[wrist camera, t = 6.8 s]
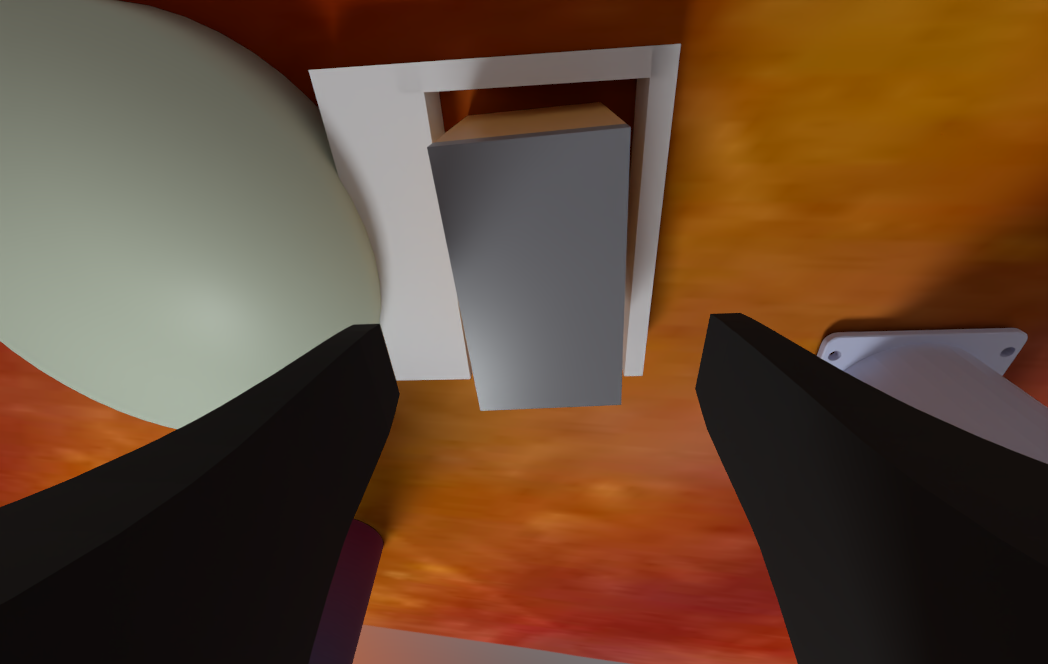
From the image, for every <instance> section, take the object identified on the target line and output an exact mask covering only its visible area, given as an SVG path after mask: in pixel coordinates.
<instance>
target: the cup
mask: <svg viewBox="0 0 1048 664" xmlns="http://www.w3.org/2000/svg"><path fill="white" fill-rule="evenodd" d="M382 549H383V540H382V538H381V536H380V535H379V533H378V532H377V531H376V530H374V529H373V528H372V527H370V526H369V525H367V524H365V523H363V522H360V521H358V520H355V519H353V520H352V523H351V525H350V528H349V531H348V533H347V536H346V539H345V541H344V544H343V547H342V550H341V553H340V557H339V560H338V563H337V566H336V569H335V573H334V576H333V579H332V582H331V586H330V589H329V592H328V595H327V599H326V602H325V606H324V609H323V613H322V617H321V620H320V624H319V627H318V631H317V634H316V638H315V641H314V645H313V648H312V652H311V656H310V660H309V664H352V663H353V659H354V654H355V651H356V647H357V643H358V640H359V636H360V632H361V628H362V625H363V621H364V617H365V613H366V610H367V606H368V602H369V598H370V594H371V591H372V587H373V583H374V579H375V576H376V572H377V568H378V564H379V560H380V557H381V553H382Z"/></svg>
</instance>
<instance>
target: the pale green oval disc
mask: <svg viewBox="0 0 1048 664" xmlns="http://www.w3.org/2000/svg"><path fill="white" fill-rule="evenodd" d="M680 48H681V44H669V45H655V46H641V47H626V48H612V49H598V50H584V51H570V52H556V53H541V54H527V55H513V56H499V57H485V58H471V59H456V60H442V61H428V62H414V63H400V64H386V65H371V66H357V67H343V68H329V69H315V70H308V71H309V74H310V78H311V81H312V85H313V88H314V92H315V95H316V99H317V102H318V106H319V109H320V110H319V109H318V107H317V106H316V105H315V104H314V103H313V102H312V101H311V100H310V99H309V98H308V97H307V96H306V95H305V94H304V93H303V92H301V91H300V90H299V89H298V88H297V87H296V86H295V85H294V84H293V83H292V82H291V81H289V80H288V79H287V78H286V77H285V76H284V75H283V74H281V73H280V72H279V71H277V70H276V69H275V68H273V67H272V66H271V65H269V64H268V63H267V62H265V61H264V60H263V59H261V58H260V57H259V56H257V55H256V54H255V53H253V52H252V51H250V50H248V49H247V48H245V47H243V46H242V45H240V44H238V43H237V42H235V41H233V40H232V39H230V38H228V37H226V36H225V35H223V34H221V33H220V32H218V31H215V30H213V29H211V28H209V27H207V26H204V25H202V24H200V23H198V22H195V21H193V20H191V19H189V18H187V17H184V16H181V15H178V14H175V13H172V12H168V11H165V10H162V9H159V8H155V7H152V6H149V5H143V4H137V3H131V2H125V1H119V0H0V341H1V342H2V343H4V344H5V345H6V346H7V347H9V348H10V349H11V350H12V351H14V352H15V353H16V354H18V355H19V356H21V357H22V358H24V359H25V360H27V361H28V362H29V363H31V364H32V365H34V366H35V367H37V368H38V369H40V370H41V371H43V372H44V373H46V374H48V375H49V376H51V377H53V378H54V379H56V380H58V381H59V382H61V383H63V384H64V385H66V386H68V387H70V388H72V389H74V390H76V391H77V392H79V393H81V394H83V395H85V396H87V397H89V398H91V399H93V400H95V401H97V402H100V403H102V404H104V405H107V406H109V407H111V408H113V409H116V410H118V411H120V412H123V413H126V414H129V415H131V416H134V417H137V418H140V419H142V420H145V421H149V422H152V423H156V424H159V425H163V426H166V427H170V428H175V429H179V428H181V427H183V426H185V425H187V424H189V423H191V422H193V421H195V420H196V419H198V418H200V417H202V416H204V415H206V414H207V413H209V412H211V411H213V410H215V409H216V408H218V407H220V406H222V405H223V404H225V403H227V402H228V401H230V400H232V399H233V398H235V397H237V396H238V395H240V394H242V393H243V392H245V391H247V390H248V389H250V388H252V387H253V386H255V385H257V384H258V383H260V382H262V381H263V380H265V379H267V378H268V377H270V376H271V375H273V374H275V373H276V372H278V371H279V370H281V369H282V368H284V367H285V366H287V365H288V364H290V363H292V362H293V361H295V360H296V359H298V358H299V357H301V356H302V355H304V354H305V353H307V352H309V351H310V350H312V349H313V348H315V347H316V346H318V345H319V344H321V343H322V342H324V341H326V340H327V339H329V338H330V337H332V336H333V335H335V334H337V333H338V332H340V331H342V330H344V329H345V328H347V327H349V326H351V325H354V324H380V327H381V330H382V334H383V335H384V339H385V342H386V346H387V349H388V353H389V356H390V360H391V363H392V367H393V370H394V374H395V377H396V380H446V379H471V375H472V366H471V361H470V356H469V352H468V347H467V342H466V337H465V332H464V327H463V322H462V317H461V312H460V307H459V302H458V298H457V293H456V288H455V283H454V278H453V273H452V268H451V263H450V258H449V253H448V248H447V243H446V239H445V234H444V229H443V224H442V219H441V214H440V209H439V204H438V199H437V194H436V189H435V184H434V180H433V175H432V170H431V165H430V160H429V155H428V150H427V147H428V146H429V145H430V144H432V143H433V142H434V141H436V140H437V139H438V138H439V137H441V136H442V135H443V134H445V130H444V124H443V117H442V110H441V103H440V96H439V91H453V90H468V89H484V88H499V87H514V86H529V85H545V84H560V83H575V82H590V81H605V80H621V79H636V78H637V86H636V100H635V114H634V127H633V141H632V155H631V169H630V183H629V196H628V220H627V248H626V277H625V305H624V334H623V362H622V369H623V373H624V376H642V375H643V367H644V358H645V349H646V341H647V332H648V324H649V315H650V306H651V298H652V289H653V280H654V272H655V263H656V255H657V246H658V237H659V229H660V220H661V211H662V203H663V194H664V186H665V177H666V168H667V160H668V151H669V143H670V134H671V125H672V117H673V108H674V99H675V91H676V82H677V74H678V65H679V56H680Z"/></svg>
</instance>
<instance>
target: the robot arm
mask: <svg viewBox="0 0 1048 664" xmlns="http://www.w3.org/2000/svg"><path fill="white" fill-rule="evenodd" d="M1027 339H1028V336H1027V334H1026V333H1025V332H1023V331H1021V330H1020V329H1018V328H986V329H947V330H908V331H869V332H837V333H832V334H830V335H828V336H827V337H825V338H824V340H823V341H822V343H821V346H820V349H819V351H818V354H817V356H816V355H814V354H813V353H811V352H809V351H807V350H806V349H804V348H802V347H801V346H799V345H797V344H795V343H794V342H792V341H790V340H789V339H787V338H785V337H784V336H782V335H780V334H778V333H777V332H775V331H773V330H772V329H770V328H768V327H766V326H765V325H763V324H761V323H759V322H757V321H756V320H754V319H752V318H750V317H748V316H746V315H744V314H741V313H725V314H710V319H709V324H708V329H707V334H706V339H705V344H704V349H703V353H702V358H701V363H700V368H699V373H698V378H697V383H696V388H695V389H696V393H697V396H698V400H699V403H700V407H701V411H702V414H703V417H704V420H705V424H706V427H707V430H708V432H709V434H710V437H711V439H712V441H713V443H714V446H715V448H716V450H717V452H718V454H719V457H720V459H721V461H722V463H723V466H724V468H725V470H726V472H727V474H728V476H729V479H730V481H731V483H732V485H733V487H734V489H735V492H736V494H737V496H738V498H739V500H740V503H741V505H742V507H743V509H744V511H745V513H746V516H747V518H748V520H749V522H750V524H751V527H752V529H753V532H754V534H755V537H756V539H757V542H758V544H759V546H760V549H761V552H762V555H763V558H764V561H765V564H766V567H767V570H768V573H769V576H770V579H771V581H772V584H773V587H774V590H775V593H776V596H777V599H778V602H779V605H780V609H781V612H782V615H783V618H784V621H785V624H786V628H787V631H788V634H789V637H790V640H791V643H792V647H793V650H794V653H795V656H796V659H797V663H798V664H1048V408H1047V407H1046V406H1044V405H1043V404H1041V403H1040V402H1039V401H1037V400H1036V399H1034V398H1033V397H1031V396H1030V395H1029V394H1027V393H1026V392H1024V391H1023V390H1022V389H1020V388H1019V387H1017V386H1016V385H1014V384H1013V383H1012V382H1010V381H1009V380H1007V379H1006V378H1004V377H1003V374H1004V373H1005V371H1006V370H1007V369H1008V367H1009V366H1010V364H1011V363H1012V361H1013V360H1014V359H1015V357H1016V356H1017V354H1018V353H1019V351H1020V350H1021V349H1022V347H1023V346H1024V344H1025V343H1026V341H1027ZM834 351H835V352H834ZM832 352H834V353H833V354H832V355H829V354H830V353H832ZM399 394H400V393H399V390H398V386H397V383H396V379H395V376H394V372H393V369H392V365H391V362H390V358H389V355H388V351H387V348H386V344H385V341H384V337H383V334H382V330H381V327H380V324H354V325H351V326H349V327H347V328H345V329H344V330H342V331H340V332H338V333H337V334H335V335H333V336H332V337H330V338H329V339H327V340H326V341H324V342H322V343H321V344H319V345H318V346H316V347H315V348H313V349H312V350H310V351H309V352H307V353H305V354H304V355H302V356H301V357H299V358H298V359H296V360H295V361H293V362H292V363H290V364H288V365H287V366H285V367H284V368H282V369H281V370H279V371H278V372H276V373H275V374H273V375H271V376H270V377H268V378H267V379H265V380H263V381H262V382H260V383H258V384H257V385H255V386H253V387H252V388H250V389H248V390H247V391H245V392H243V393H242V394H240V395H238V396H237V397H235V398H233V399H232V400H230V401H228V402H227V403H225V404H223V405H222V406H220V407H218V408H216V409H215V410H213V411H211V412H209V413H207V414H206V415H204V416H202V417H200V418H198V419H196V420H195V421H193V422H191V423H189V424H187V425H185V426H183V427H181V428H179V429H177V430H175V431H173V432H171V433H169V434H167V435H165V436H163V437H162V438H160V439H158V440H155V441H153V442H151V443H149V444H147V445H145V446H143V447H141V448H139V449H136V450H134V451H132V452H130V453H128V454H125V455H123V456H121V457H119V458H116V459H114V460H112V461H110V462H108V463H105V464H103V465H101V466H99V467H97V468H94V469H92V470H90V471H88V472H85V473H83V474H81V475H79V476H77V477H74V478H72V479H70V480H67V481H65V482H62V483H60V484H58V485H55V486H53V487H50V488H48V489H45V490H43V491H40V492H38V493H35V494H33V495H30V496H28V497H26V498H23V499H21V500H18V501H15V502H13V503H10V504H8V505H5V506H2V507H0V664H309V660H310V656H311V652H312V648H313V645H314V641H315V638H316V634H317V631H318V627H319V624H320V620H321V617H322V613H323V609H324V606H325V602H326V599H327V595H328V592H329V589H330V586H331V582H332V579H333V576H334V573H335V569H336V566H337V563H338V560H339V557H340V553H341V550H342V547H343V544H344V541H345V539H346V536H347V533H348V531H349V528H350V525H351V523H352V520H353V518H354V516H355V513H356V511H357V509H358V506H359V504H360V502H361V499H362V497H363V495H364V492H365V490H366V488H367V485H368V483H369V481H370V478H371V476H372V474H373V471H374V469H375V466H376V464H377V462H378V459H379V457H380V455H381V452H382V450H383V447H384V445H385V442H386V440H387V437H388V435H389V432H390V429H391V425H392V422H393V418H394V415H395V411H396V407H397V403H398V398H399Z"/></svg>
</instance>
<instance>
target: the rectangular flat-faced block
mask: <svg viewBox="0 0 1048 664" xmlns="http://www.w3.org/2000/svg"><path fill="white" fill-rule="evenodd" d="M630 135H631V127H630V126H629V125H627V124H626V123H625V122H624V121H623V120H621V119H620V118H619V117H618V116H617V115H616V114H614V113H613V112H612V111H611V110H610V109H608V108H607V107H606V106H605V105H604V104H602V103H601V102H594V103H584V104H575V105H565V106H555V107H546V108H536V109H527V110H517V111H507V112H498V113H488V114H478V115H469V116H466V117H465V118H464V119H463V120H461V121H460V122H459V123H457V124H456V125H455V126H454V127H452V128H451V129H450V130H448V131H447V132H446V133H445V134H443V135H442V136H441V137H439V138H438V139H437V140H436V141H434V142H433V143H432V144H430V145H429V146H428V147H427V150H428V155H429V160H430V165H431V170H432V175H433V180H434V184H435V189H436V194H437V199H438V204H439V209H440V214H441V219H442V224H443V229H444V234H445V239H446V243H447V248H448V253H449V258H450V263H451V268H452V273H453V278H454V283H455V288H456V293H457V298H458V302H459V307H460V312H461V317H462V322H463V327H464V332H465V337H466V342H467V347H468V352H469V356H470V361H471V366H472V371H473V376H474V381H475V386H476V391H477V396H478V401H479V406H480V411H486V410H510V409H533V408H556V407H580V406H603V405H621V391H622V362H623V334H624V305H625V277H626V248H627V220H628V192H629V163H630Z"/></svg>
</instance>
